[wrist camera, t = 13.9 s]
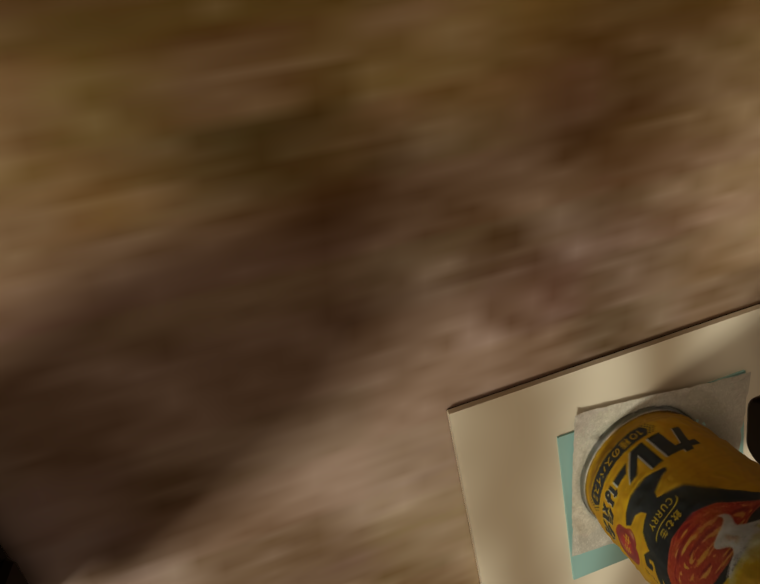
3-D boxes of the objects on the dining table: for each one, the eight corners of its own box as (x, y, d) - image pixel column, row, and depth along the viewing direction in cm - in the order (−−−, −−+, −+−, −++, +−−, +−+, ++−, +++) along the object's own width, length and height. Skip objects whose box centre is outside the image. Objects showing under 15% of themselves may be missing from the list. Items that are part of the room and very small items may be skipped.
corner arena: (508, 729, 31) (560, 841, 27) (446, 410, 24) (503, 491, 19) (797, 602, 34) (888, 684, 30) (823, 282, 27) (949, 326, 22)
